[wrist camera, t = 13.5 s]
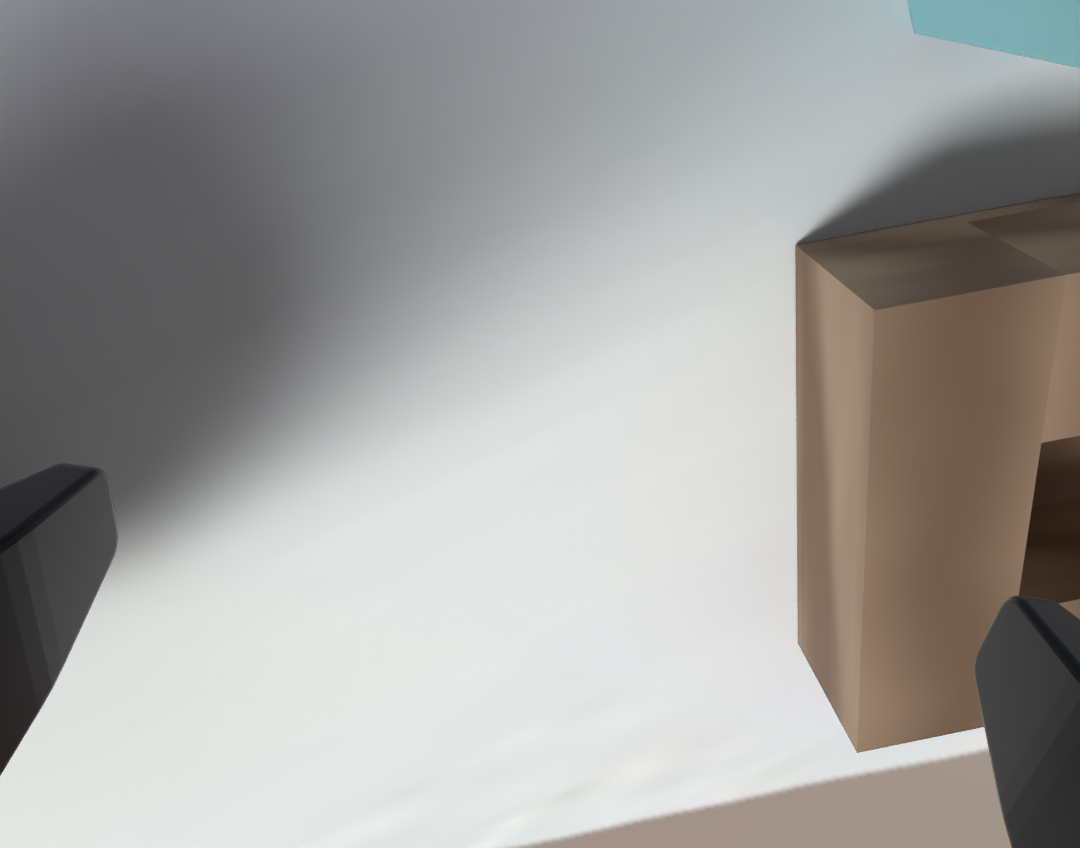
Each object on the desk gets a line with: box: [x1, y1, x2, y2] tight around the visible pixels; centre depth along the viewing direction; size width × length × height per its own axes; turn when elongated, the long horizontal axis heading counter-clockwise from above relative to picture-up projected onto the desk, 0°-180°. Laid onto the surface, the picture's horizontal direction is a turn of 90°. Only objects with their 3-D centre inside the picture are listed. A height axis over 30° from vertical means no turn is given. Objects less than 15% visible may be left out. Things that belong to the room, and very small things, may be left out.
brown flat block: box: [796, 193, 1080, 753], centre depth 22 cm, size 12×12×4 cm
